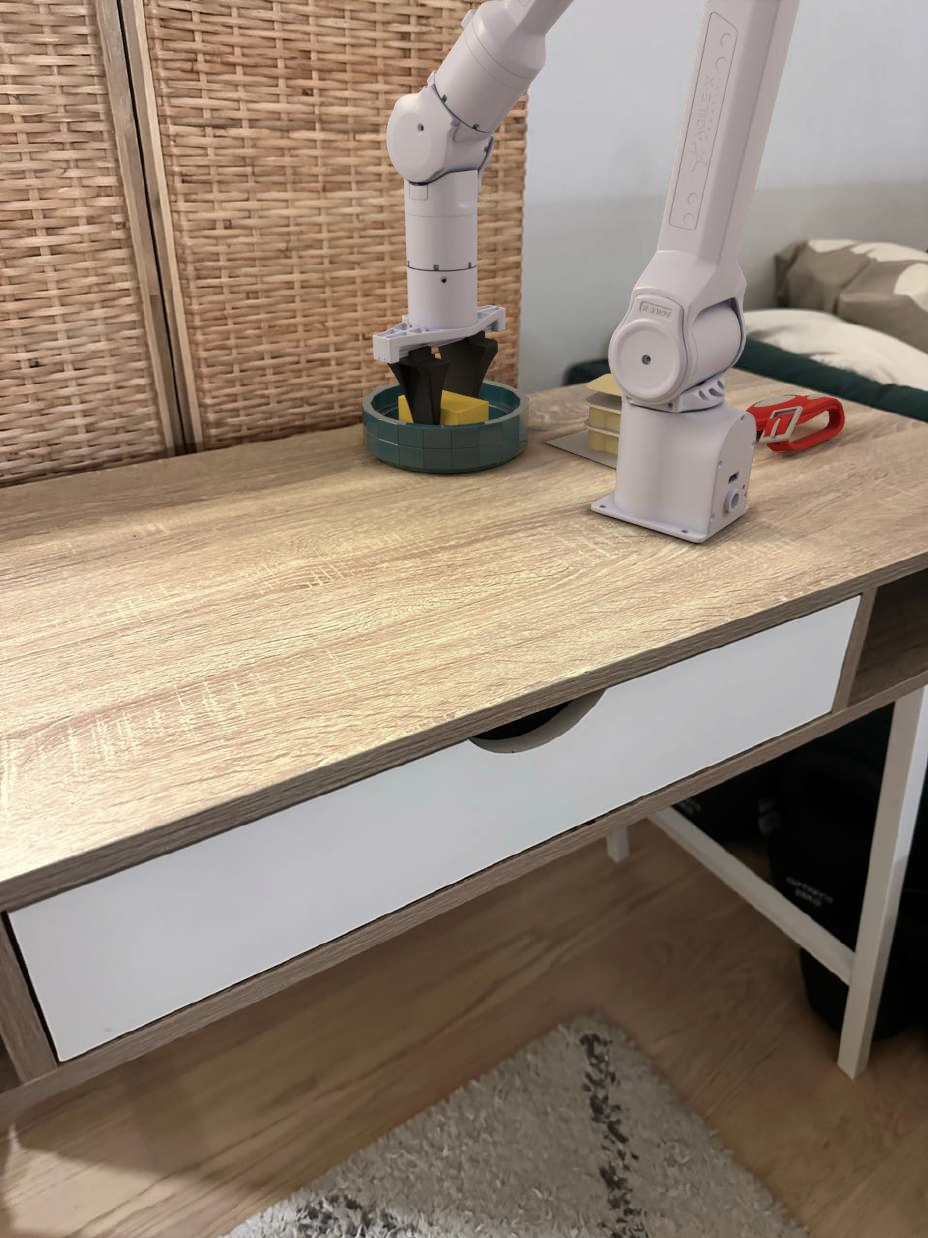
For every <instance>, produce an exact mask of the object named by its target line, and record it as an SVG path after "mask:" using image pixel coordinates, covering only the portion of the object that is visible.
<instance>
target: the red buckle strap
mask: <svg viewBox="0 0 928 1238" xmlns="http://www.w3.org/2000/svg"><path fill="white" fill-rule="evenodd" d="M745 411H746V412H748V413H750V414H752V415H753V416H754V418H755V422H756V432H762V434H761V436H760V437H759V440H758V443H759V444H760V445H766V446H767V447H768V449H770V450H771V451H772V452H774V453H778V452H779V453H780V452H788V451H789V452H790V451H791V452H792V451H799V450H804V449H807V448H810V447H812V446H815V445H817V444H820V443H822V442H824V441H826V440H829V439H831V438H834V437H837V436H838V435H840V433H841V432H842V430H843V429H844V427H845V423H846V416H845V415H846V414H845V411H844V407H843V403H842V402H841V401H840V400H839V399H837V398H835V397H830V396H826V395H825V394H824V393H814V394H806V395H800V394H784V395H777V396H773V397H769V398H766V399H765V398H764V399H763V400H762V399H761V400H759V401H757V402H756V403H753V404H752V405H750V406H749V407H747V409H746V410H745ZM825 412H828V423H827V425H826V426H825V427H823V428H822V429H819V430H816V431H815V432H812V433H810V434H807V435H805V436H803V437H800V438H798V439H795V440H793V441H790V437H791V435H792V434H793V433H794V432H795V427H796V426H800V425H802V424H805V423H807V422H809V421H810V420H812V419H814V418H815V417H818V416H819V415H822V414H823V413H825Z"/></svg>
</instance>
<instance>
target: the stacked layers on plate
mask: <svg viewBox="0 0 928 1238" xmlns="http://www.w3.org/2000/svg"><path fill="white" fill-rule="evenodd" d="M586 387H587V388H588V389H590V390H592V391H593V390H594V391H596V392H595V393H593V394H591V395H589V396H587V397H586V398H585V401H584V402H585V405H586V406H587V407H589V409H588V418H587V419H585V420H584V421H583V426H584V428H586V429H584V430H580V431H577V432H574V433H571V434H568V435H564V436H561V437H558V438H555V439H552V440H549V441H546V442H544V443H546V444H548V445H551V446H554V447H556V448H559V449H562V450H564V451H567V452H571V453H573V454H575V455H578V456H580V457H584V458H586V459H589V460H592V461H594V462H597V463H600V464H603V465H605V466H608V467H609V468H613V469H616V470H617V458H618V446H619V434H620V422H621V410H622V391H621V389H620V388H619V387H618V386H617V384H616V382H615V381H614V379H613V376H612V374H611V373H605V374H603V375H601V376H599V377H598V378H596V379H595V378H594V379H593V380H591V381H590V382H587V383H586Z"/></svg>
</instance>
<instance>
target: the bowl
mask: <svg viewBox="0 0 928 1238" xmlns="http://www.w3.org/2000/svg"><path fill="white" fill-rule="evenodd" d="M443 390H444V391H446V380H445V381H444V386H443ZM402 395H404V393H403V391H402V388H401V386H400V384H399V382H398V381H397V382H393V383H391V384H387V385H384V386H381V387H378V388H376V389H374V390H372V391H371V392H369V393H367V394H366V395H365V397H364V398H363V400H362V402H361V416H362V417H361V418H362V434H363V435H362V436H363V444H364V446H365V448H366V450H367V452H369V453H370V454H372V455H373V456H375V457H376V458H377V459H379V460H380V461H381V462H383V463H385V464H388V465H390V466H393V467H394V468H395V467H396V468H399V469H402V470H407V471H411V472H419V473H427V474H461V473H470V472H471V473H472V472H477V471H483V470H487V469H491V468H495V467H498V466H501V465H502V464H505V463H507V462H509V461H511V460H512V459H513V458H515V457H517V456H519V455H520V454H521V453H522V452H523V451H524V450H525V449H526V448H527V447H528V442H529V413H530V398H529V397H528V396H527V394H526V393H524V392H523V391H522V390H520V389H518V388H515V387H514V386H511V385H509V384H507V383H502V382H498V381H493V380H489V379H484V380H483V382H482V385H481V388H480V392H479V395H478V399H480V400H484V401H488V402H489V411H488V421H483V422H479V423H472V424H460V425H424V424H416V423H409V422H402V421H399V400H398V397H399V396H402Z"/></svg>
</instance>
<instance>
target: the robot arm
mask: <svg viewBox="0 0 928 1238" xmlns="http://www.w3.org/2000/svg"><path fill="white" fill-rule="evenodd" d="M574 1H575V0H488V1H487V0H486V1H484V2H482V3H481V4H480V6H479V7H478V8H477V9H475V8H474V9H472V8H471V9H469V10H468V11H467V13H466V14H465V16H464V17H463V19H462V20H461V22H460V26H461V28H462V30H463V31H462V32H461V34H460V35H459V37H458V39H457V40H456V41H455V43H454V44H453V46H452V47H451V49H450V51H449V52H448V54H447V55H446V57H445V58H444V59H443V61H442V63H441V64H440V65H439V68H438V69H436V70H432V72H431V73H430V75H429V76H428V78H427V79H426V83H427V85H424V86H423V87H422V89H421V90H420V91H419V92H416V93H407V94H405V95H403V96H401V97H400V98H399V99H397V100H396V101H395V103H394V107H393V109H392V111H391V114H390V115H389V118H388V122H387V126H386V132H385V135H386V136H385V140H386V141H385V142H386V149H387V153H388V156H389V160H390V162H391V164H392V166H393V167H394V169H395V170H396V172H397V173H398V175H400V176H401V177H402V178H403V197H404V198H403V200H404V219H405V220H404V223H405V224H404V225H405V249H406V250H405V255H406V259H405V260H406V288H407V314H403V315H402V316H401V322H400V323H398V324H396V325H393V326H392V327H391V328H389V329H387V330H385V331H383V332H380V333H376V334H373V335H372V353H373V360H374V361H378V362H383V363H385V364H386V365H387V366H388V368H389V369H390V370H391V372H392V374H393V375H394V377H395V378H396V380H397V382H399V384H400V386H401V388H402V391H403V393H404V395H405V398H406V401H407V404H408V407H409V410H410V413H411V417H412V420H413V423H416V424H424V425H440V416H441V397H442V391H443V386H444V381H445V380H446V391H448V392H452V393H456V394H460V395H464V396H468V397H472V398H476V399H478V395H479V392H480V388H481V385H482V382H483V380H485V378H486V377H485V376H486V374H487V372H488V370H489V368H490V366H491V364H492V362H493V361H494V359H495V357H496V355H497V354H498V352H499V341H498V340H497V339H493V338H488V337H486V333H490V332H494V333H495V332H496V333H500V332H503V331H506V329H507V328H506V327H507V326H506V325H507V323H506V322H507V308H506V307H503V306H497V305H493V304H487V305H483V306H478V200H479V194H482V179H483V174H484V172H485V169H486V168H487V167H488V165H489V163H490V161H491V159H492V156H493V153H494V149H495V139H496V137H495V136H494V135H493V134H495V132H496V130H497V129H498V128H499V126H500V125H501V124H502V122H503V121H504V120H505V118H506V117H507V116H508V115H509V113H510V112H511V111H512V109H513V108H514V106H515V105H516V104H517V102H519V100H520V98H521V97H522V96H523V95H524V93H525V92H526V90H527V89H528V88H529V87H530V86H531V84H533V81H534V80H535V79H536V78H537V76H538V75H539V73H540V72H541V71H542V70H543V68H544V66H545V64H546V59H547V49H546V48H547V47H546V34H548V33H549V32H550V30H551V29H552V28H553V26H554V25H555V24H556V23H557V22H558V20H559V19H560V18H561V17H562V15H563V14H564V13H565V12H566V11H567V9H568V8H569V7H570V6H571V4H572V3H573V2H574ZM800 3H801V0H705V1H704V5H703V6H704V7H703V11H702V15H701V20H700V26H699V31H698V36H697V41H696V47H695V51H694V56H693V57H694V58H693V61H692V62H693V63H692V66H691V72H690V77H689V82H688V88H687V92H686V97H685V103H684V106H683V113H682V117H681V124H680V127H679V128H680V129H679V133H678V138H677V144H676V149H675V154H674V158H673V163H672V170H671V175H670V179H669V185H668V189H667V194H666V200H665V205H664V210H663V214H662V215H663V216H662V219H661V226H660V230H659V231H660V232H659V234H658V235H659V236H658V240H657V247H656V250H655V253H654V255H653V256H652V258H651V260H650V261H649V263H648V264H647V266H646V267H645V269H644V270H643V271H642V273H641V275H640V276H639V277H638V280H637V281H636V283H635V284H634V286H633V288H632V290H631V295H630V301H629V305H628V308H627V311H626V313H625V315H624V317H623V318H622V320H621V321H620V322H619V324H618V325H617V327H616V328H615V330H614V331H613V333H612V335H611V338H610V341H609V345H608V350H607V351H608V353H607V355H608V356H607V359H608V366H609V367H608V368H609V370H610V374H612V376H613V379H614V381H615V382H616V384H617V386H618V387H619V388H620V389H621V391H622V410H621V422H620V434H619V446H618V458H617V469H616V471H615V472H616V473H615V484H614V491H613V492H610V493H609V494H607V495H605V496H603V497H601V498H599V499H597V500H595V501H594V502H592V503H591V504H590V510H591V511H592V512H594V513H598V514H601V515H605V516H608V517H612V518H614V519H617V520H620V521H624V522H627V523H630V524H634V525H637V526H640V527H643V528H647V529H650V530H653V531H656V532H659V533H663V534H665V535H669V536H672V537H675V538H679V539H682V540H685V541H688V542H692V543H694V544H695V543H696V544H701V543H704V542H706V541H707V540H708V539H710V538H711V537H713V536H714V535H716V534H717V533H718V532H720V531H721V530H723V529H724V528H725V527H727V526H729V525H731V523H733V522H735V521H736V520H737V519H738V518H740V517H741V516H743V515H744V514H746V513H748V512H749V509H750V505H749V504H748V503H747V499H748V492H749V485H750V478H751V475H752V467H753V461H754V456H755V448H756V441H757V431H756V422H755V418H754V416H753V415H752V414H750V413H748V412H746V410H743V409H740V408H737V407H735V406H734V405H733V404H730V402H728V401H727V400H726V399H725V398H726V383H725V377H726V372H727V371H729V370H730V369H732V367H734V365H736V363H737V362H738V361H739V359H740V357H741V356H742V354H743V351H744V349H745V346H746V341H747V326H746V321H745V316H744V298H745V293H746V289H747V285H748V283H747V279H746V277H745V274H744V273H743V270H742V267H741V266H740V264H739V260H738V259H739V258H738V257H739V254H740V249H741V245H742V241H743V237H744V233H745V228H746V225H747V221H748V217H749V213H750V208H751V204H752V200H753V197H754V192H755V188H756V184H757V179H758V176H759V171H760V167H761V163H762V159H763V155H764V151H765V146H766V143H767V139H768V135H769V131H770V126H771V122H772V118H773V114H774V109H775V105H776V102H777V98H778V94H779V89H780V85H781V81H782V76H783V73H784V70H785V69H784V68H785V64H786V61H787V56H788V52H789V48H790V44H791V39H792V36H793V32H794V27H795V24H796V20H797V15H798V11H799V8H800ZM436 348H437V350H438V353H439V357H440V358H439V357H436V353H435V352H433V349H436ZM432 352H433V353H432Z"/></svg>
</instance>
